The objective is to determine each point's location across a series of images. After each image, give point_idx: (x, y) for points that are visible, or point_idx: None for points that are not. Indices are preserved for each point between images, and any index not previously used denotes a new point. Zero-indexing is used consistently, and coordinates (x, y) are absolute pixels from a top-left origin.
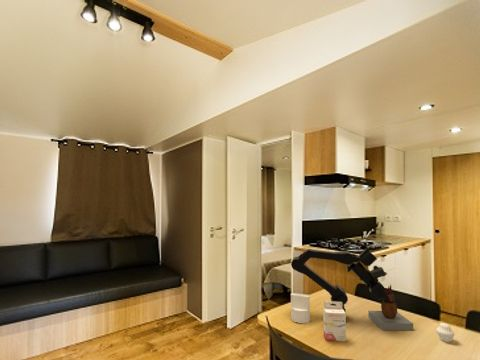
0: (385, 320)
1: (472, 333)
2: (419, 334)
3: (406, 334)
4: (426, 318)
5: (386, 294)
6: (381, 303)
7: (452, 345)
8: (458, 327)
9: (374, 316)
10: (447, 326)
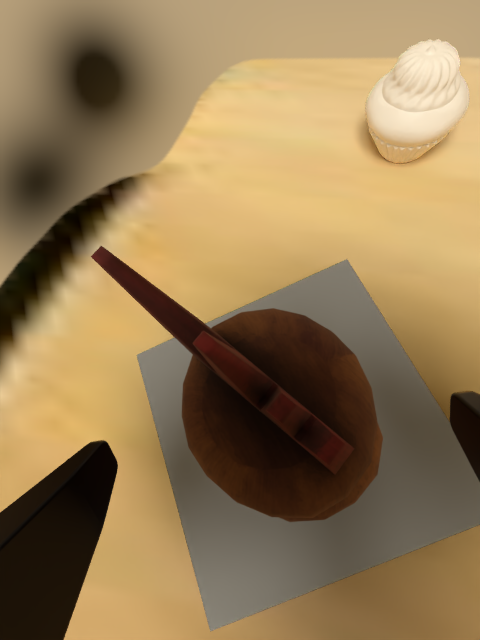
0: (401, 468)
1: (250, 66)
2: (393, 254)
3: (444, 326)
4: (134, 210)
5: (348, 452)
6: (302, 520)
7: None
8: (203, 103)
9: (345, 577)
10: (450, 45)
